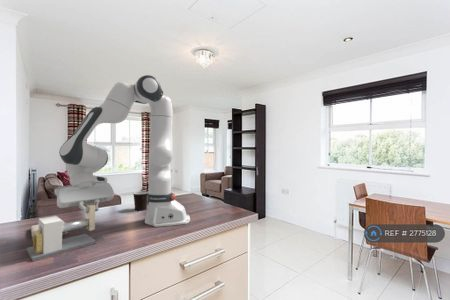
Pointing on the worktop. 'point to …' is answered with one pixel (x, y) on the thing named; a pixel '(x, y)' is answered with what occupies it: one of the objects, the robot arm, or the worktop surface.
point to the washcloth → (35, 227)
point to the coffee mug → (140, 200)
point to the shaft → (82, 221)
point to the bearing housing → (57, 239)
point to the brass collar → (37, 241)
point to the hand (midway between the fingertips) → (91, 211)
